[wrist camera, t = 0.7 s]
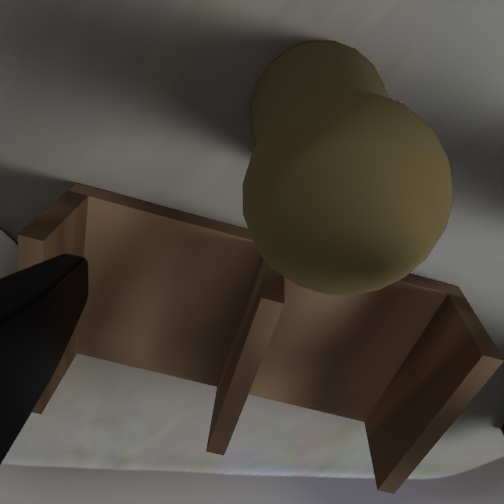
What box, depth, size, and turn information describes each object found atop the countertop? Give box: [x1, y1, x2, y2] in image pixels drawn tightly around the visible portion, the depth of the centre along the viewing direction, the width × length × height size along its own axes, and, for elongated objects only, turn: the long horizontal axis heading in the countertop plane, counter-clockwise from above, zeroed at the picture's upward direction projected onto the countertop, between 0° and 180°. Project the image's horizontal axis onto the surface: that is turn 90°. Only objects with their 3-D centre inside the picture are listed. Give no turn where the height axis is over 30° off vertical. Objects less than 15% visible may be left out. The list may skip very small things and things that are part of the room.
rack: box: [18, 183, 504, 494], centre depth 22 cm, size 21×11×6 cm, turn 75°
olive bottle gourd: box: [243, 41, 453, 295], centre depth 14 cm, size 6×6×11 cm
